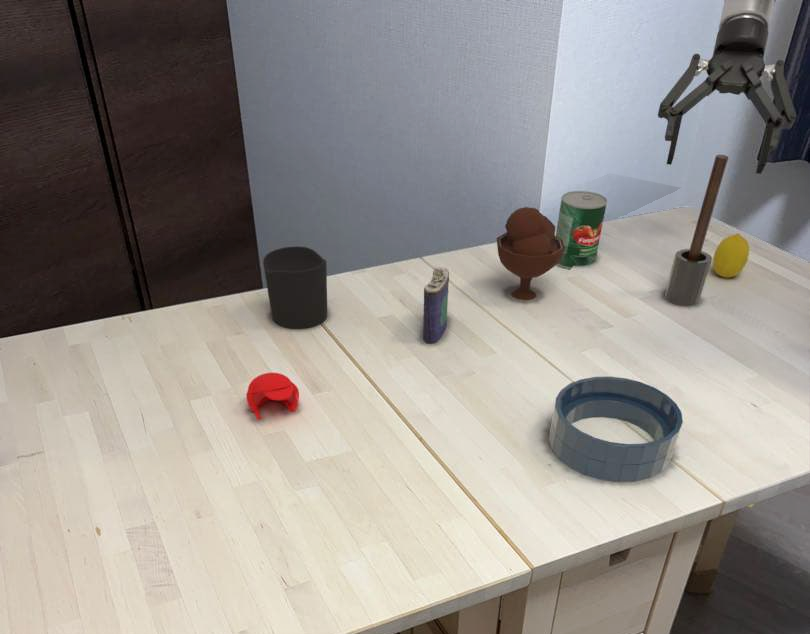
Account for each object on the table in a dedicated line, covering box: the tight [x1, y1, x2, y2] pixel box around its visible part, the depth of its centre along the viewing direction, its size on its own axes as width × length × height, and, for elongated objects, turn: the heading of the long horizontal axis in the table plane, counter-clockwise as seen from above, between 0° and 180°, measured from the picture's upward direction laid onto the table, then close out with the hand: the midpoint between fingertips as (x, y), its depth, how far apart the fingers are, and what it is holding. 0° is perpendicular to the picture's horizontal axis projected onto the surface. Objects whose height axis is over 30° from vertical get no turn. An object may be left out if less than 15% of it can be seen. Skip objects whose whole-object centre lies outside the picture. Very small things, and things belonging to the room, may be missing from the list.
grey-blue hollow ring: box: [548, 376, 684, 483], centre depth 93 cm, size 15×15×6 cm
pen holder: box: [262, 246, 328, 330], centre depth 115 cm, size 9×9×10 cm
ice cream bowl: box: [496, 206, 565, 302], centre depth 120 cm, size 11×11×15 cm
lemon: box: [712, 233, 750, 279], centre depth 129 cm, size 6×6×8 cm
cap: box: [246, 372, 300, 421], centre depth 97 cm, size 8×6×6 cm
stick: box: [687, 154, 729, 261], centre depth 117 cm, size 2×2×22 cm
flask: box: [422, 266, 450, 345], centre depth 112 cm, size 9×3×11 cm, turn 166°
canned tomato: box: [555, 190, 608, 270], centre depth 133 cm, size 8×8×11 cm
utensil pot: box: [664, 248, 713, 307], centre depth 122 cm, size 6×6×8 cm
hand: (714, 164), depth 116 cm, fingers open, 13 cm apart
